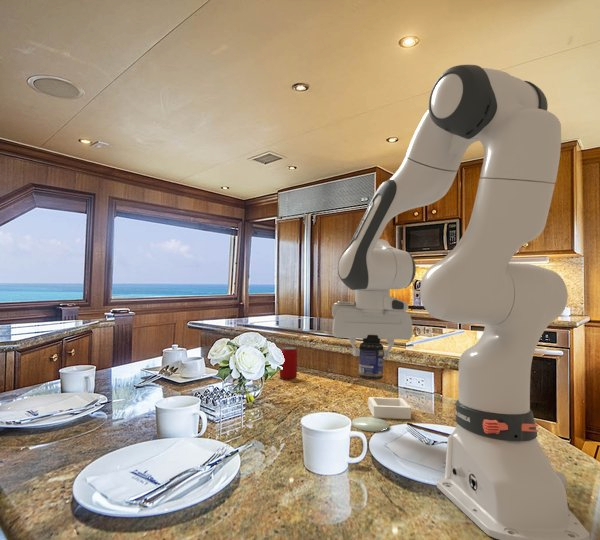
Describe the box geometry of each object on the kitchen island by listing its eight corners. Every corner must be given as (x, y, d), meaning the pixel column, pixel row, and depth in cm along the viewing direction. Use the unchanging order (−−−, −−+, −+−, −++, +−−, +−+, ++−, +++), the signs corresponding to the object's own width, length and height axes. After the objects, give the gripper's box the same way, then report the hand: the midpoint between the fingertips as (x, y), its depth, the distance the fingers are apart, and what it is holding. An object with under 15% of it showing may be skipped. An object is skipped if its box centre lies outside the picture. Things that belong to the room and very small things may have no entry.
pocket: (410, 419, 105) (411, 407, 105) (373, 417, 105) (373, 406, 106) (402, 408, 115) (402, 398, 115) (368, 407, 115) (368, 396, 116)
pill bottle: (383, 381, 96) (383, 335, 97) (358, 379, 97) (359, 334, 98) (382, 376, 102) (383, 333, 103) (359, 374, 103) (360, 332, 104)
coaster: (391, 432, 94) (391, 429, 94) (354, 431, 94) (354, 427, 94) (384, 420, 103) (384, 417, 103) (350, 419, 103) (350, 416, 103)
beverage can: (289, 376, 158) (290, 346, 159) (300, 379, 153) (301, 348, 153) (276, 378, 154) (277, 347, 154) (286, 381, 148) (287, 349, 149)
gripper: (332, 301, 98) (331, 356, 97) (414, 303, 97) (414, 359, 96) (331, 300, 104) (330, 353, 103) (408, 303, 104) (407, 356, 103)
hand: (371, 356), depth 100 cm, fingers closed on pill bottle, 6 cm apart
